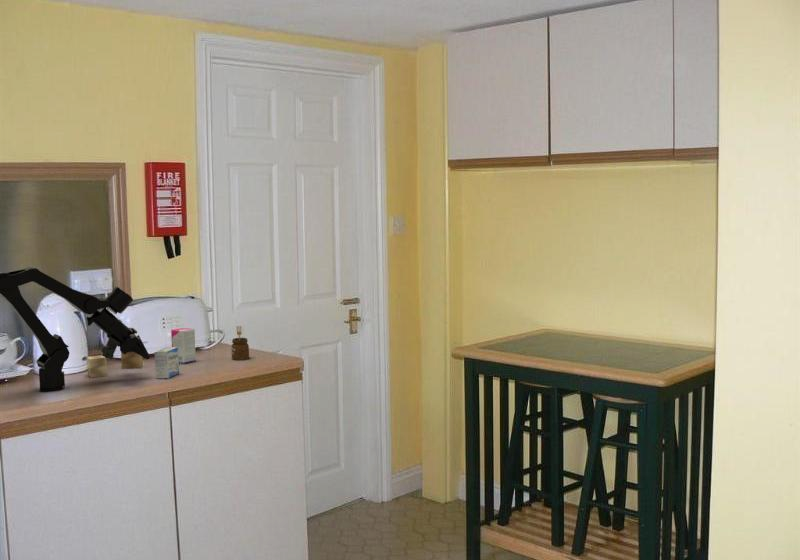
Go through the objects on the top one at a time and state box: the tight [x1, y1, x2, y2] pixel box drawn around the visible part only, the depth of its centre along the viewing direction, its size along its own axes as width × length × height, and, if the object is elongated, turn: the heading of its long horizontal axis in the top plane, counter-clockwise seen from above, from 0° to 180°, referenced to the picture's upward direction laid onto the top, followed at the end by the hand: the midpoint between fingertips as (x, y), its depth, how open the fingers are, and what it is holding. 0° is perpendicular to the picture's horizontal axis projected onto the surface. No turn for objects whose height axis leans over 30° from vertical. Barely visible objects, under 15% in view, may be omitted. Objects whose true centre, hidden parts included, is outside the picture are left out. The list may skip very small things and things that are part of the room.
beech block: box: [86, 354, 108, 379], centre depth 277 cm, size 5×5×6 cm
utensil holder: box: [231, 325, 250, 361], centre depth 300 cm, size 6×6×12 cm
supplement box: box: [170, 327, 197, 365], centre depth 296 cm, size 6×6×12 cm
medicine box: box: [154, 346, 180, 379], centre depth 274 cm, size 8×4×9 cm, turn 169°
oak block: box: [120, 351, 144, 370], centre depth 289 cm, size 6×4×7 cm, turn 94°
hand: (149, 358), depth 272 cm, fingers closed
